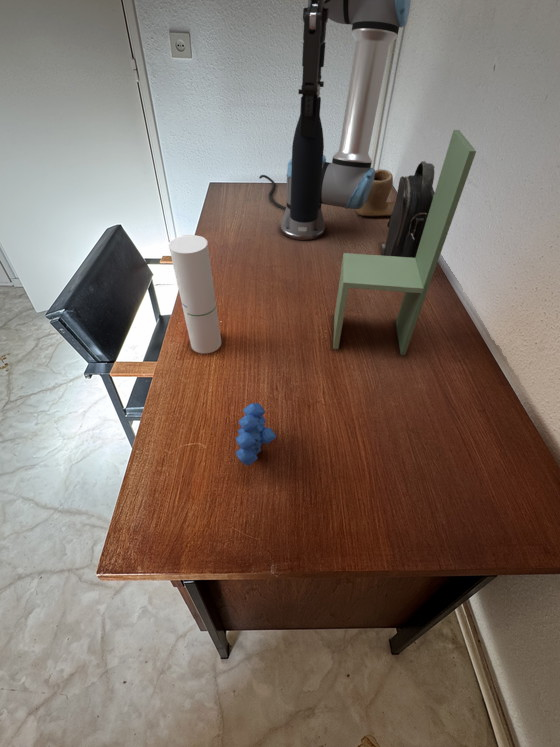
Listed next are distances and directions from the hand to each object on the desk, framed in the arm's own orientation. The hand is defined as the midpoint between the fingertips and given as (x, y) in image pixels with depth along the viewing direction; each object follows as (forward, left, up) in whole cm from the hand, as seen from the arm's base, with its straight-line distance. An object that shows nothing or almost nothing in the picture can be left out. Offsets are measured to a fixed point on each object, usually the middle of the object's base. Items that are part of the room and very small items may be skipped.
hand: (309, 131), depth 73 cm
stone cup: (-57, +24, -39) cm, 73 cm away
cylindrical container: (+22, -20, -39) cm, 49 cm away
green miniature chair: (+14, +18, -39) cm, 45 cm away
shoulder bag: (-23, +29, -39) cm, 54 cm away
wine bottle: (0, 0, -17) cm, 17 cm away
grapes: (+50, -3, -39) cm, 63 cm away
